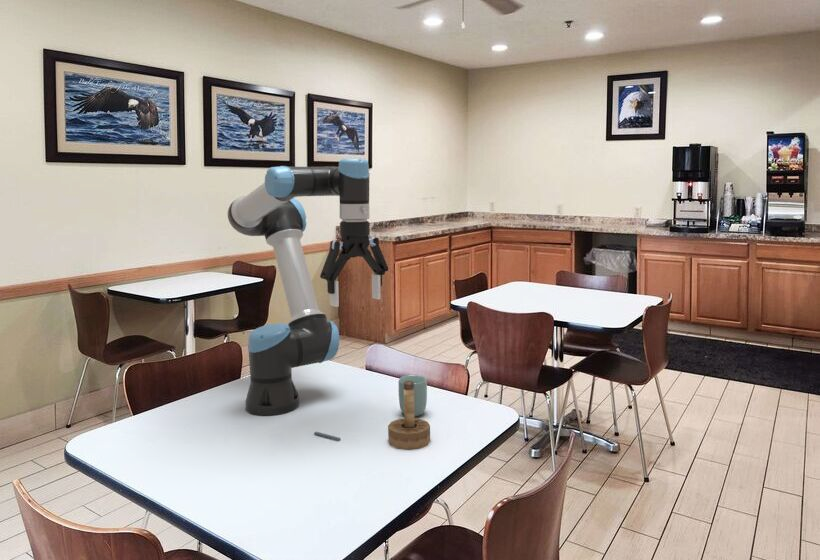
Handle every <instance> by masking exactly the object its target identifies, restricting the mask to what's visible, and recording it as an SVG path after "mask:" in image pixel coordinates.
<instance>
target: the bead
mask: <svg viewBox="0 0 820 560" xmlns="http://www.w3.org/2000/svg"><path fill="white" fill-rule="evenodd" d="M414 418H415V428H410V429H407V428H405V426H404V418H398V419H394V420H392V421H391V422H390V423H389V424H388V425H387V428H388V429H387V432H388V437H387V439H388V443H389V445H390V446H392V447H394V448H396V449H401V450H417V449H420V448H424V447H426V446H428V445H429V443H430V442H431V425H430V423H429V422H428V421H427V420H425V419H422V418H419V417H418V418H417V417H414Z"/></svg>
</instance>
